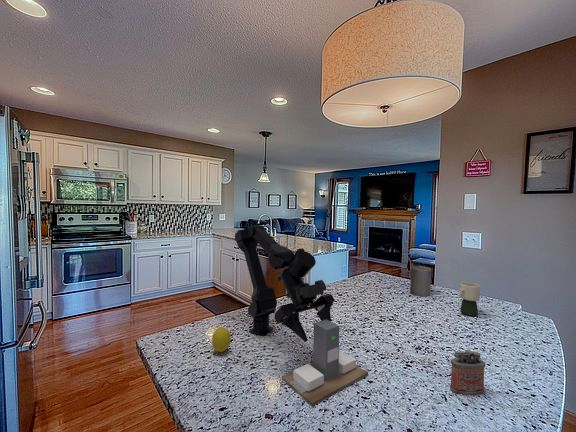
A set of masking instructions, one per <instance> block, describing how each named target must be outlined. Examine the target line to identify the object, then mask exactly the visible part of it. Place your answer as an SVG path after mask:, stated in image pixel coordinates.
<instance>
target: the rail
mask: <svg viewBox="0 0 576 432" xmlns="http://www.w3.org/2000/svg"><path fill="white" fill-rule="evenodd" d="M357 366H358V367H359V364H357V363H356V367H357ZM342 374H343V373H341V372H340V371H339V375H337V376H335V377H333V378H331V379H328V380H326V381H325V380H324V383H326V382H328V381H330V380H332V379H334V378H336V377H338V376H340V375H342ZM290 384H291V385H292V386H293V387H294V388H295V389H297V390H298V391H299V392H300V393H301V394H304V393H306V392H308V391H307V390H306V389H305V388H304V387H302V386H301V385H300V384H299V383H298V382H297V381H295V380H293V381H290Z"/></svg>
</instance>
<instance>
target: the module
mask: <svg viewBox="0 0 576 432" xmlns="http://www.w3.org/2000/svg"><path fill="white" fill-rule="evenodd" d="M312 340H313V343H312V344H313V346H312V347H313V349H312V352H313V353H312V354H313V355H312V356H313V358H312V363H313V368H315V369H316V370H318V371H319V372H320V373H322V374H323V375H324V380H325V381H326V380H328V379H331V378H333V377H335V376H337V375H339V350H340V325H338V324H336V323H335V322H332V320H331V321H329V320H327V319H326V320H322V321H321V320H319V321H317V322H314V323H313V339H312Z"/></svg>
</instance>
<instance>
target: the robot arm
mask: <svg viewBox="0 0 576 432" xmlns="http://www.w3.org/2000/svg"><path fill="white" fill-rule="evenodd" d="M234 240H235V242H236V245H237V248H238V249H239V250H240V251H241V252H242V253H243V255H244V257H245V262H246V266H247V269H248V273H249V277H250V280H251V283H252V289H253V291H252V295H251V303H250V304H249V306H248V307H247V313H248V315H249V317H252V318H253V320H252V328H251V329H250V330H249V333H251V334H255V335H260V336H263V337H264V336H267V335H268V334H269V333H271V331H273V329H274V326H270V315H272V314H274V320H275V322H276V324H281V326H285V327H286V328H288V330H290V331H292V332H293V333H294V334H295V335H297V337H299V339H301V340H302V341H303V342H305V343H307V342H308V336H307V334H306V332H305V330H304V328H303V325H302V322H301V321H300V313H302V312H306V311H310V310H313V309H314V310H315V311H317V313H316V315H317V317H318V319H320V320H319V321H322V320H326V319H327V320H329V321H331V322H332V318H331V317H332V316H331V308H332V307H333V305H334V303H335V301H336V300H335V298H334V296H333V294H331V293H326V294H324V292H325V291H327V286H326V283H325V282H324V280H323V279H319V280H317V281H316V280H315V281H314V284H309V283H308V282H304V280H303V278H304V277H306V276H307V275H308V274H309V272H310V271H311V270H312V269H313V268H314V267H315V266H316V263H317V262H316V257H315V256H314V255H312V254H311V253H310V252H308V251H305V249H304V248H303V247H302V248H297V249H296V251H295V253H294V252H293V251H292V250H291V249H289V248H288V247H287V246H284V245H281V244H279V243H278V242H277V241H276V240H275V239H274V238H273V237H272V236H271V235H270V234H269V233H268V231H267V230H266V229H265V227H264V226H263V225H251V226H249V227H246V228H244V229H237V231H236V232H235V233H234ZM258 245H259V246H260V247H261V249H262V250H264V252H265V253H266V254H267V261H268V263H269V264H270V266H271V268H272V269H273V270H282V271H280V272H278V273H279V274H278V278H277V282H282V283H283V286H284V287H285V291H287V294H286V298H287V299H290V301H291V302H290V303H289V302H288V303H286V304H282V305H281V306H279V308H278V309H277V305H278V300H277V299H278V298H277V295H276V293H275V288H273V287H270V286H268V285H267V284H268V283H267V282H266V278H265V274H264V270H263V268H262V267H263V266H262V263H261V261H260V260H261V259H260V258H259V257H260V256H259V253H258V249H257V247H258ZM319 295H320V296H319Z"/></svg>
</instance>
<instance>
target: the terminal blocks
mask: <svg viewBox="0 0 576 432" xmlns="http://www.w3.org/2000/svg"><path fill="white" fill-rule="evenodd" d="M309 364H310V363H307V364H305V365H302V366H300V367H298V368H295V369H293V370H292V372H293V379H294V380H295V381H297V382H298V383H299V384H300V385H301V386H302V387H304V388H305V389H306V390H307V391H308V392H309V391H311V390H312V389H314V388H316V387H318V386H320V385H322V384H324V375H323V374H322V373H320V372H319V371H318V370H316V369H315V368H313V367H312V366H311V365H309ZM356 364H357V360H356V359H355V358H354V357H352V356H350V355H349V354H347V353H346V352H343V351H342V350H340V349H339V371H340V372H341V373H343V374H344V373H346V372H348V371H350V370H352V369H354V368H356Z"/></svg>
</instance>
